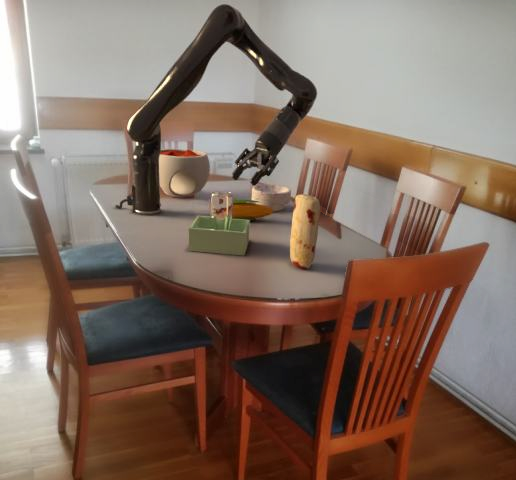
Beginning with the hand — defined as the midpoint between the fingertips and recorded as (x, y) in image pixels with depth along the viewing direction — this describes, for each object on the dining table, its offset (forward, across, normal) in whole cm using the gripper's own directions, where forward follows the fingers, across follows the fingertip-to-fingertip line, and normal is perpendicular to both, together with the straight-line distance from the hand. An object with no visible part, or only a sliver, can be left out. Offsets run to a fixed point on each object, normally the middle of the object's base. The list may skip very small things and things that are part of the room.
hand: (242, 181), depth 157 cm
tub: (+19, 0, +8) cm, 20 cm away
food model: (+13, +27, +14) cm, 33 cm away
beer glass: (+18, 0, +7) cm, 20 cm away
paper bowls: (-14, -27, +41) cm, 51 cm away
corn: (0, -19, +27) cm, 33 cm away
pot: (0, -62, +27) cm, 67 cm away
